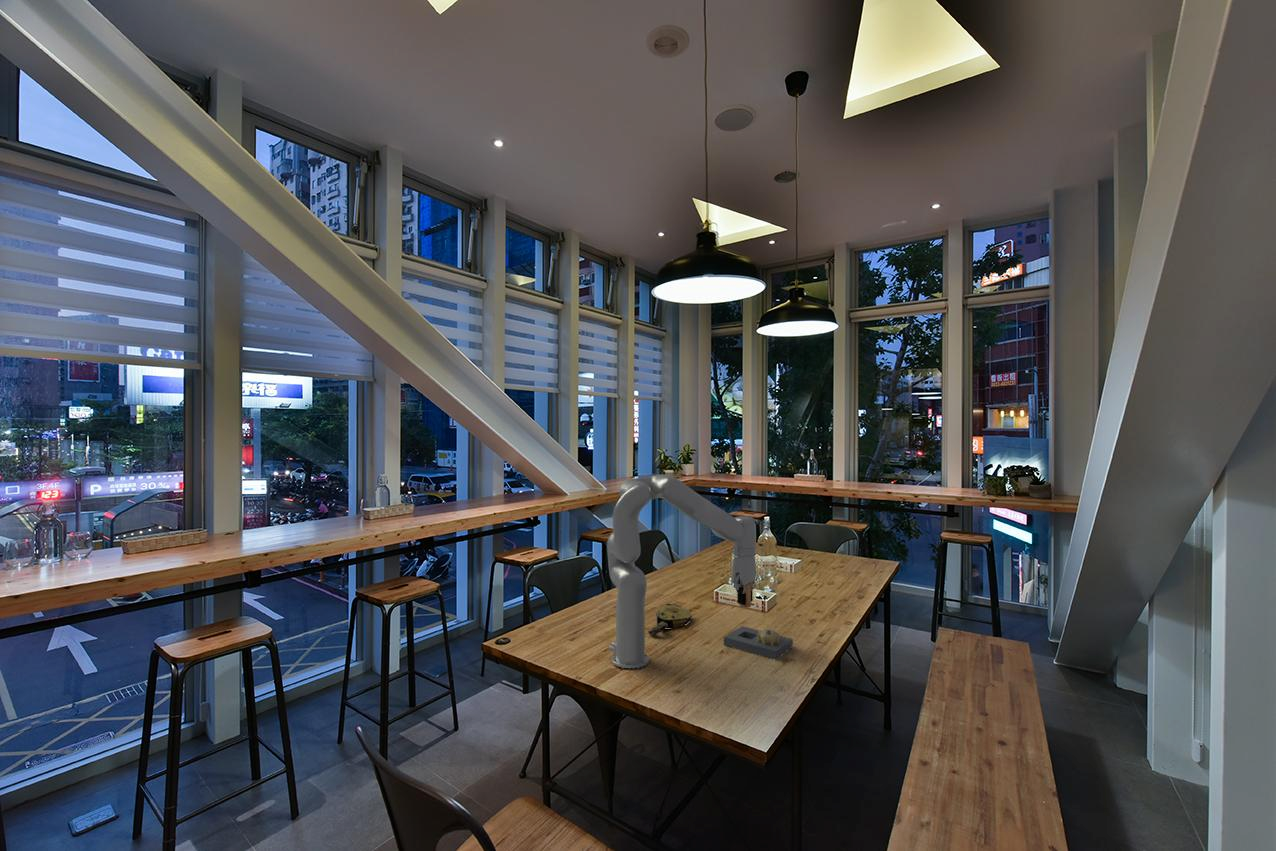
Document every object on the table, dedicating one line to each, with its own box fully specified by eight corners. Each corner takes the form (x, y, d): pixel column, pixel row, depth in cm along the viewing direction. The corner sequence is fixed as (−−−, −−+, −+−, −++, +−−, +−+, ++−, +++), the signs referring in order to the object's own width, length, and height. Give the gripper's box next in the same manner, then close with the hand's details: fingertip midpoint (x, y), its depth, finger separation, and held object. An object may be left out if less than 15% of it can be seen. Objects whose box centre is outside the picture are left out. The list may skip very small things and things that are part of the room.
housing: (723, 645, 193) (723, 627, 193) (742, 634, 204) (742, 616, 204) (775, 660, 180) (775, 640, 180) (792, 647, 191) (792, 629, 191)
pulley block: (636, 618, 203) (668, 597, 229) (634, 633, 203) (666, 610, 230) (670, 630, 196) (699, 607, 223) (668, 645, 197) (697, 620, 223)
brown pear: (737, 605, 192) (737, 583, 192) (743, 603, 195) (742, 581, 195) (747, 608, 189) (747, 585, 189) (752, 605, 192) (752, 583, 193)
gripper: (746, 546, 201) (747, 595, 201) (723, 554, 189) (723, 606, 188) (764, 548, 196) (765, 598, 196) (742, 557, 184) (742, 610, 183)
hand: (745, 601), depth 192 cm, fingers closed on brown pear, 4 cm apart
